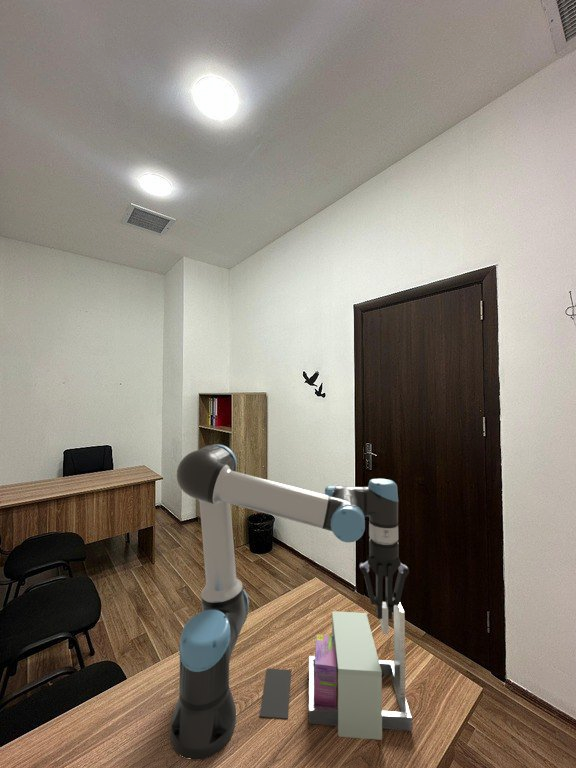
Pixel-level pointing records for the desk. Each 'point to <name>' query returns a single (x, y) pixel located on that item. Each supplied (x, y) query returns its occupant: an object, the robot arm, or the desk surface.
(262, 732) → the desk surface
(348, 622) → the sage green tall block
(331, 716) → the frame
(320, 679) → the box
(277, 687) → the mat
